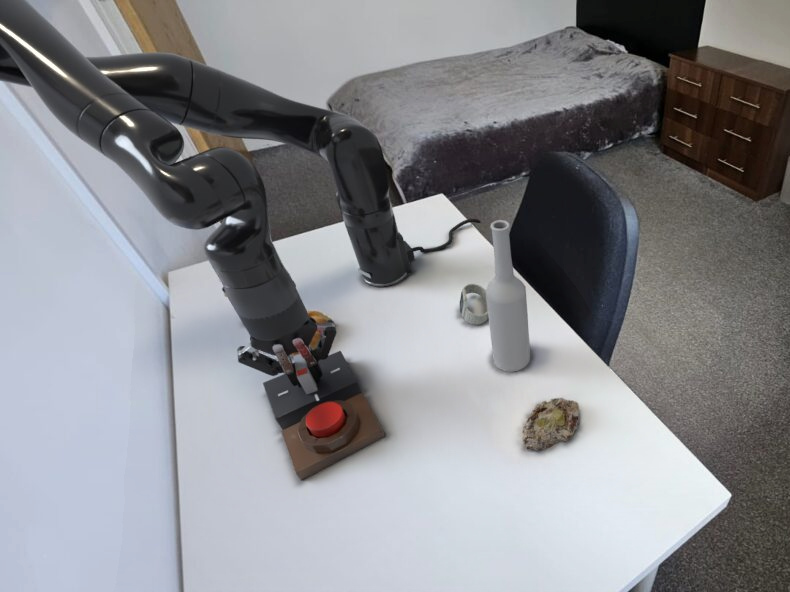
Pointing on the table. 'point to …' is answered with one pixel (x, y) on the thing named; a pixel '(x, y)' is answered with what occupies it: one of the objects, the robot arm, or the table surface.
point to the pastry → (321, 319)
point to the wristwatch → (463, 304)
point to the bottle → (507, 307)
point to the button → (325, 419)
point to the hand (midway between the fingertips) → (309, 380)
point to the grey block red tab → (304, 375)
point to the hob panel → (296, 403)
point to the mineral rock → (551, 423)
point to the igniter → (332, 438)
